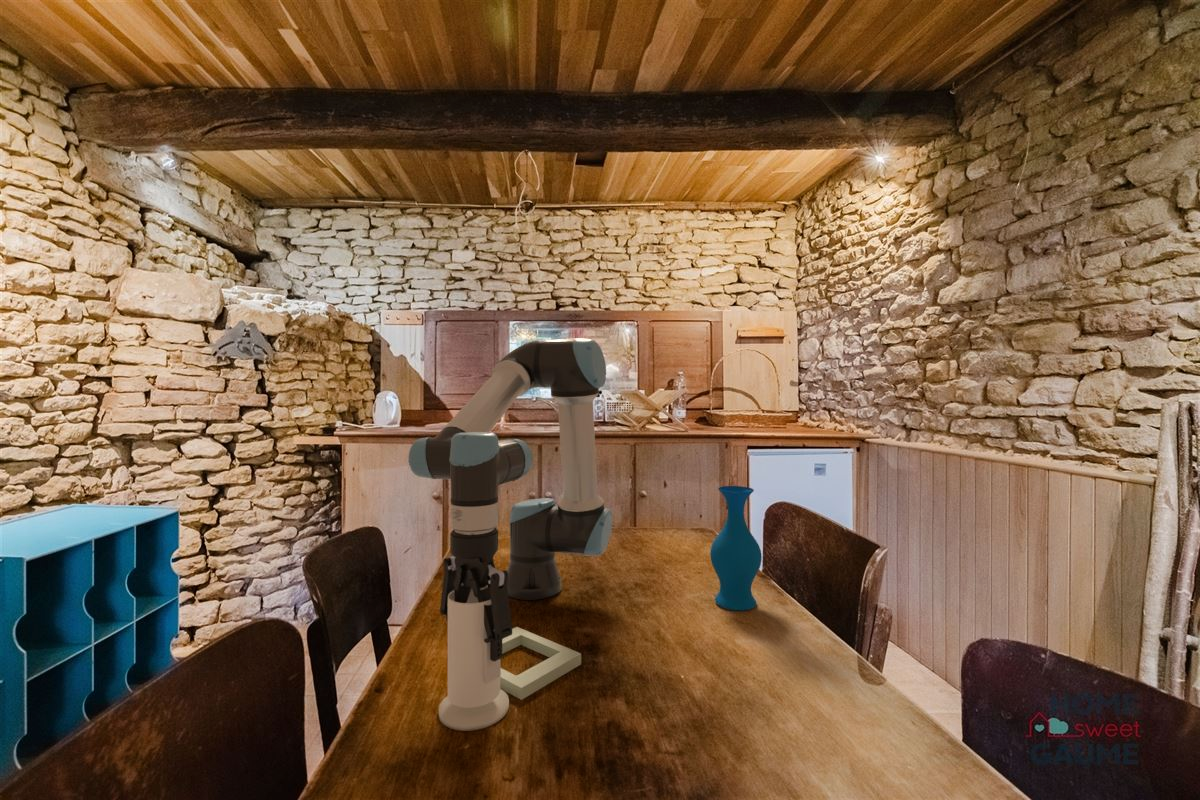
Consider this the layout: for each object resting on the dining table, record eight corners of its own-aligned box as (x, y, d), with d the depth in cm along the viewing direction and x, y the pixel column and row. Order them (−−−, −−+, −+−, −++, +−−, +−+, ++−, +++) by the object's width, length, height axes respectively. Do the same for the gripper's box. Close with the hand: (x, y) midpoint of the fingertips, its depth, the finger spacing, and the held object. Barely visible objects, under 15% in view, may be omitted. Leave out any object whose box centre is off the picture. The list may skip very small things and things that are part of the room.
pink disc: (424, 711, 83) (424, 706, 83) (480, 682, 92) (480, 678, 92) (466, 740, 76) (466, 735, 76) (523, 706, 85) (523, 701, 85)
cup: (487, 711, 79) (487, 605, 79) (437, 704, 81) (437, 601, 81) (507, 682, 87) (507, 586, 87) (462, 676, 89) (462, 582, 89)
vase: (762, 597, 131) (762, 486, 131) (760, 617, 119) (760, 495, 119) (713, 591, 135) (713, 483, 135) (707, 610, 123) (707, 491, 123)
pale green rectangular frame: (456, 664, 98) (456, 653, 98) (516, 636, 109) (516, 626, 109) (521, 699, 86) (521, 687, 86) (581, 664, 98) (581, 653, 98)
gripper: (417, 522, 88) (417, 657, 88) (498, 545, 74) (498, 704, 74) (455, 515, 93) (455, 641, 93) (537, 534, 80) (536, 682, 80)
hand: (474, 669), depth 84 cm, fingers closed on cup, 8 cm apart
